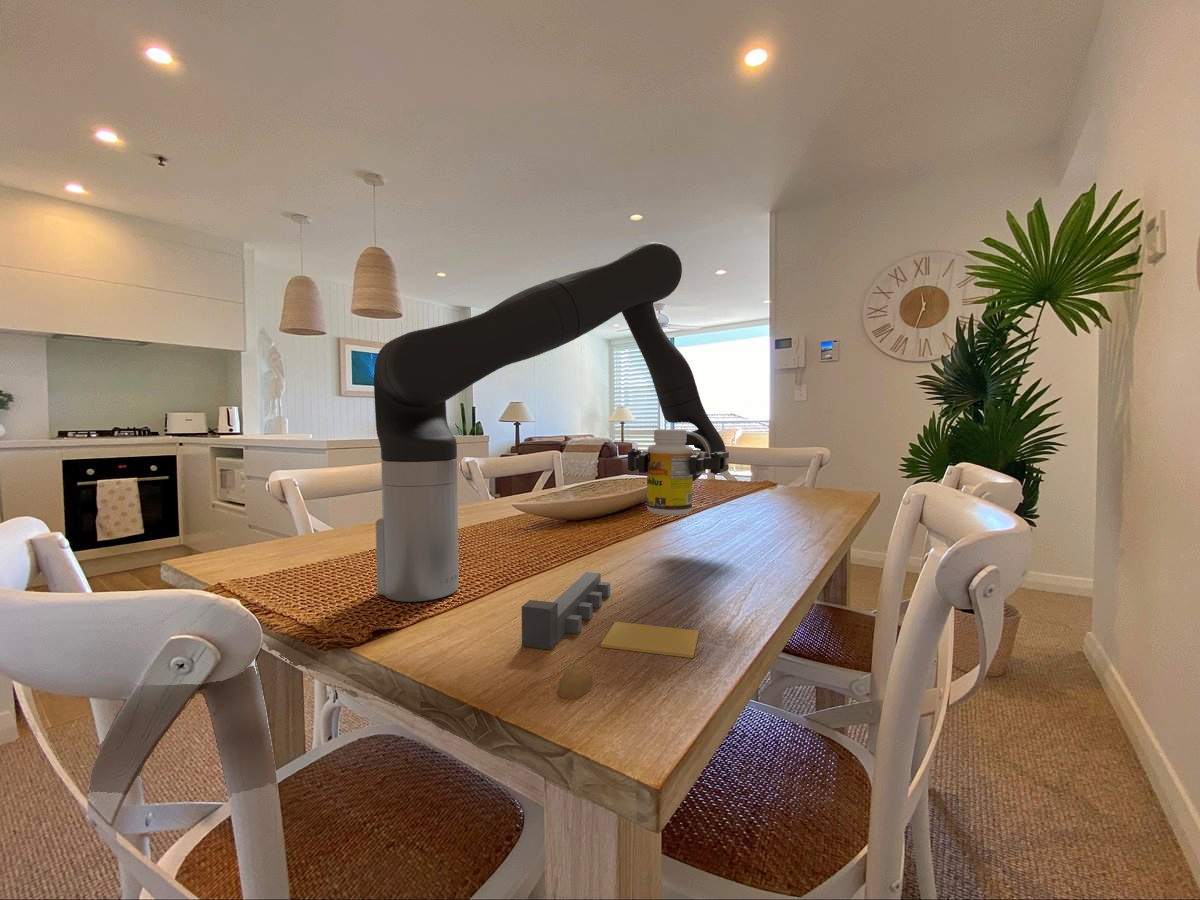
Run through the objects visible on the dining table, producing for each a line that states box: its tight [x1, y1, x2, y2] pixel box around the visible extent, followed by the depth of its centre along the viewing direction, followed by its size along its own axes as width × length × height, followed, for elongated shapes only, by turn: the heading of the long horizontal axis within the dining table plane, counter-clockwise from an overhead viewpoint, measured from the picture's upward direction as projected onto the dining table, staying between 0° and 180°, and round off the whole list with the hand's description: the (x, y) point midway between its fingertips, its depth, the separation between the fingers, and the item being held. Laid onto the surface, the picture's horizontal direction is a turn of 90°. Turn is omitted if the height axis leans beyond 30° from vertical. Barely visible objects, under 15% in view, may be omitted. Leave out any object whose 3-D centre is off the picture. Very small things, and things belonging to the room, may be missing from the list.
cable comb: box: [521, 571, 611, 651], centre depth 60 cm, size 4×18×4 cm, turn 164°
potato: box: [557, 664, 594, 700], centre depth 44 cm, size 3×4×2 cm, turn 157°
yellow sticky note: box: [600, 621, 700, 659], centre depth 53 cm, size 9×6×1 cm, turn 74°
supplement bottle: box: [646, 428, 693, 516], centre depth 65 cm, size 6×6×10 cm
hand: (667, 465), depth 62 cm, fingers closed on supplement bottle, 5 cm apart
